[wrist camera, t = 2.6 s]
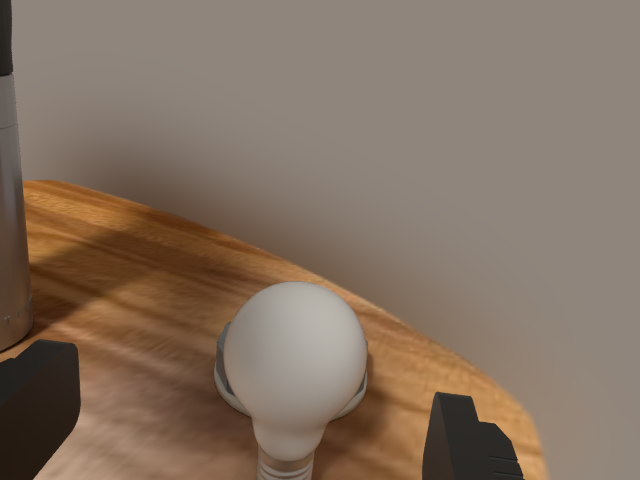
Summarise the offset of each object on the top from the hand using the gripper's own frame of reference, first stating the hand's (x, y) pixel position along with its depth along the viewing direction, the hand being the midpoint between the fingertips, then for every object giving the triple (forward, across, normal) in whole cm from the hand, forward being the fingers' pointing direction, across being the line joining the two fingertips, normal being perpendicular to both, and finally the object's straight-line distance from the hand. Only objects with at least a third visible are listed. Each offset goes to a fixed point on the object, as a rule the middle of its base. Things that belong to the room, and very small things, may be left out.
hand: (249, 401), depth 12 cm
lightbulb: (+12, 0, +13) cm, 18 cm away
